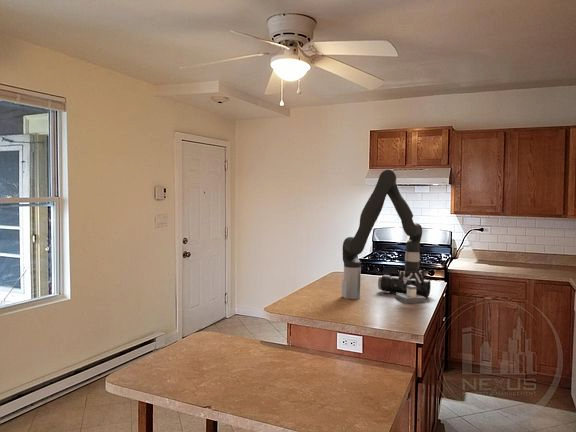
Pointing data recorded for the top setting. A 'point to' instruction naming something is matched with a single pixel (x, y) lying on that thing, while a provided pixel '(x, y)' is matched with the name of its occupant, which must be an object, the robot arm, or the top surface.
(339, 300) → the top surface
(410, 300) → the outlet block
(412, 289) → the plug
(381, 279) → the muzzle brake
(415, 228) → the robot arm
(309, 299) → the top surface
